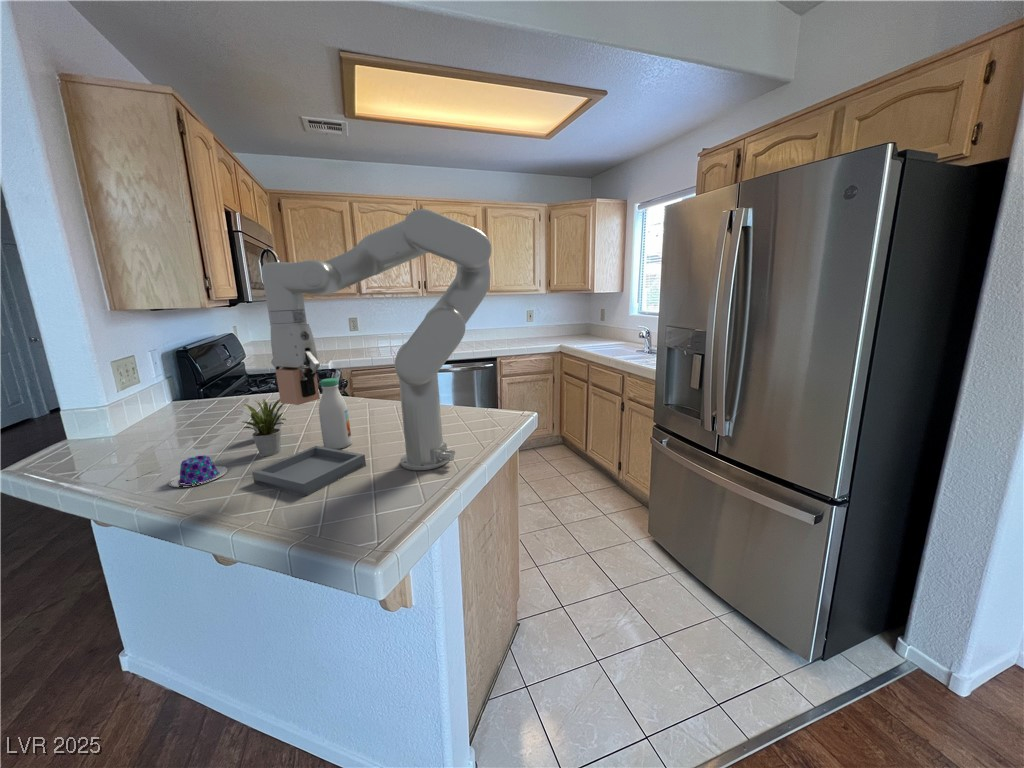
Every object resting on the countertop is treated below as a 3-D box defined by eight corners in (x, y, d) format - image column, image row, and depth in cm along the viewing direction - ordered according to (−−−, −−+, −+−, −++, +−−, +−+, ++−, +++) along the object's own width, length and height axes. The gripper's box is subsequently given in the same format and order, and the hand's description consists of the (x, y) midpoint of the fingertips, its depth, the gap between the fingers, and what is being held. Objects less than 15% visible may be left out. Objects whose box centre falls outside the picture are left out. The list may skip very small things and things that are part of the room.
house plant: (308, 440, 129) (301, 389, 126) (294, 457, 116) (284, 400, 112) (258, 445, 127) (249, 392, 123) (237, 463, 114) (226, 405, 110)
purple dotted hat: (228, 480, 104) (224, 460, 103) (166, 494, 98) (161, 473, 96) (227, 465, 114) (224, 446, 113) (171, 477, 107) (166, 458, 106)
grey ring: (262, 442, 129) (256, 411, 127) (253, 442, 130) (247, 411, 128) (286, 432, 139) (281, 402, 137) (278, 431, 140) (273, 402, 138)
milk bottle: (345, 450, 120) (336, 381, 116) (319, 451, 120) (308, 382, 116) (356, 440, 128) (347, 376, 123) (331, 441, 128) (321, 377, 124)
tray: (366, 465, 109) (364, 454, 108) (305, 496, 93) (303, 484, 92) (317, 456, 117) (316, 445, 116) (254, 483, 101) (252, 471, 100)
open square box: (319, 398, 102) (315, 366, 100) (297, 405, 97) (292, 370, 95) (303, 396, 105) (298, 365, 103) (280, 402, 99) (275, 369, 98)
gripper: (328, 317, 96) (338, 393, 100) (278, 317, 104) (289, 388, 107) (299, 319, 89) (311, 401, 93) (248, 319, 97) (261, 395, 101)
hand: (299, 394), depth 100 cm, fingers closed on open square box, 6 cm apart
